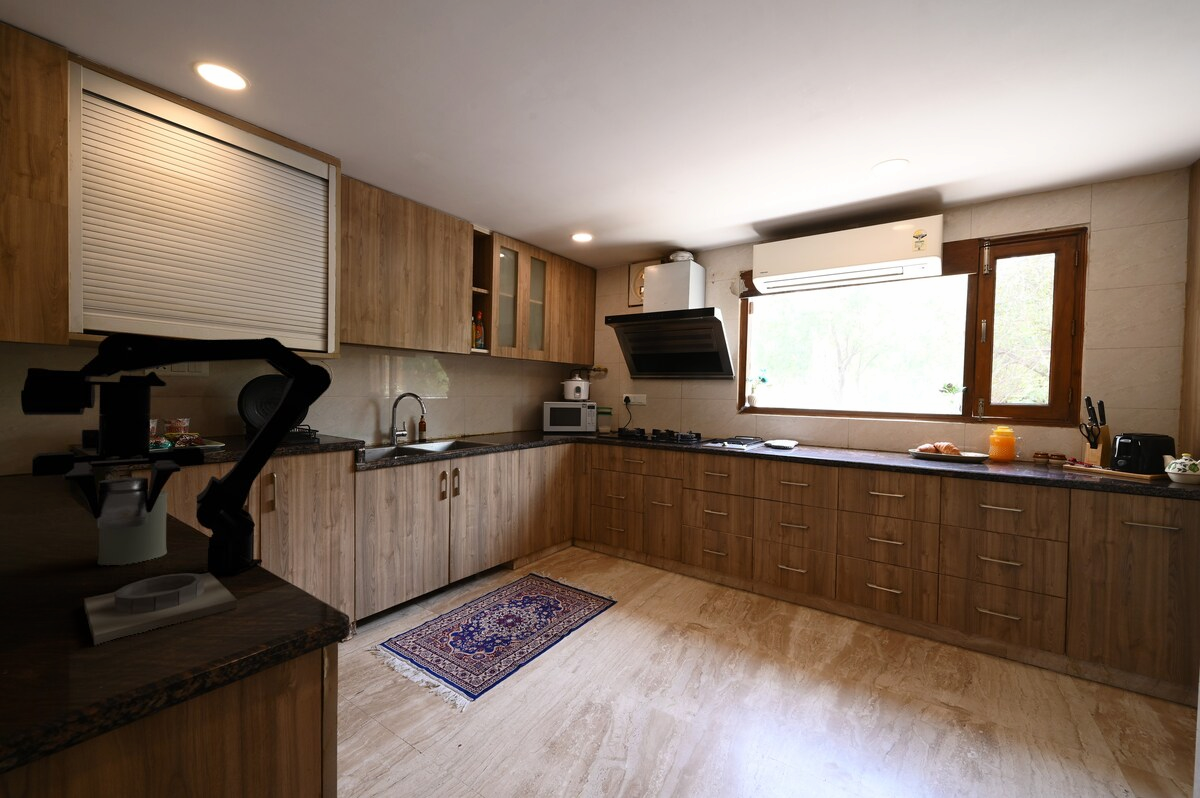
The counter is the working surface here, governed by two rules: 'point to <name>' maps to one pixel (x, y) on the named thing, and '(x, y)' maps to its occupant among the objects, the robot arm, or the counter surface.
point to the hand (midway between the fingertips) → (123, 514)
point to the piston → (122, 502)
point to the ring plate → (155, 604)
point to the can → (136, 539)
